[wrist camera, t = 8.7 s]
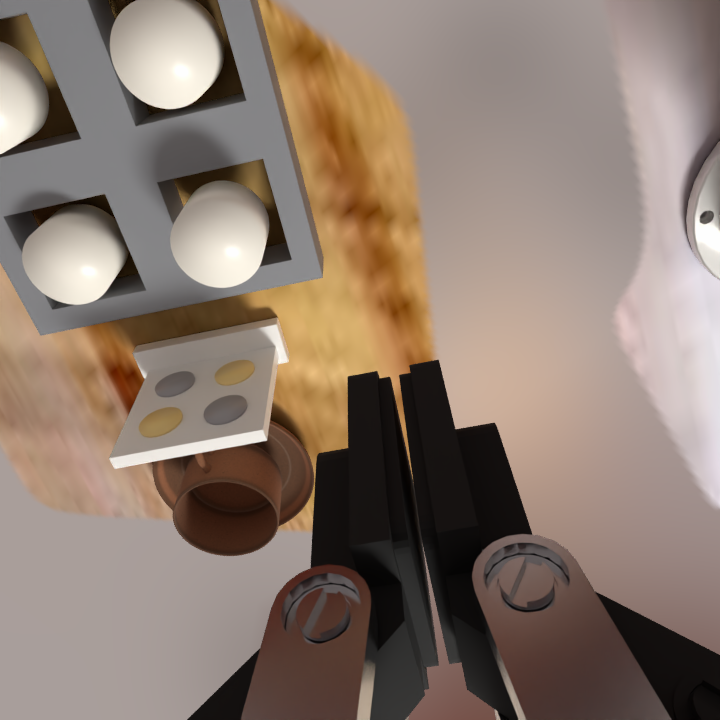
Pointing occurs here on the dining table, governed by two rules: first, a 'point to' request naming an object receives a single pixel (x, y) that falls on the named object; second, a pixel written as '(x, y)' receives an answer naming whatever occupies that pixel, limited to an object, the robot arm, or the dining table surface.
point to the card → (202, 393)
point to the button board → (148, 164)
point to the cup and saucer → (237, 492)
